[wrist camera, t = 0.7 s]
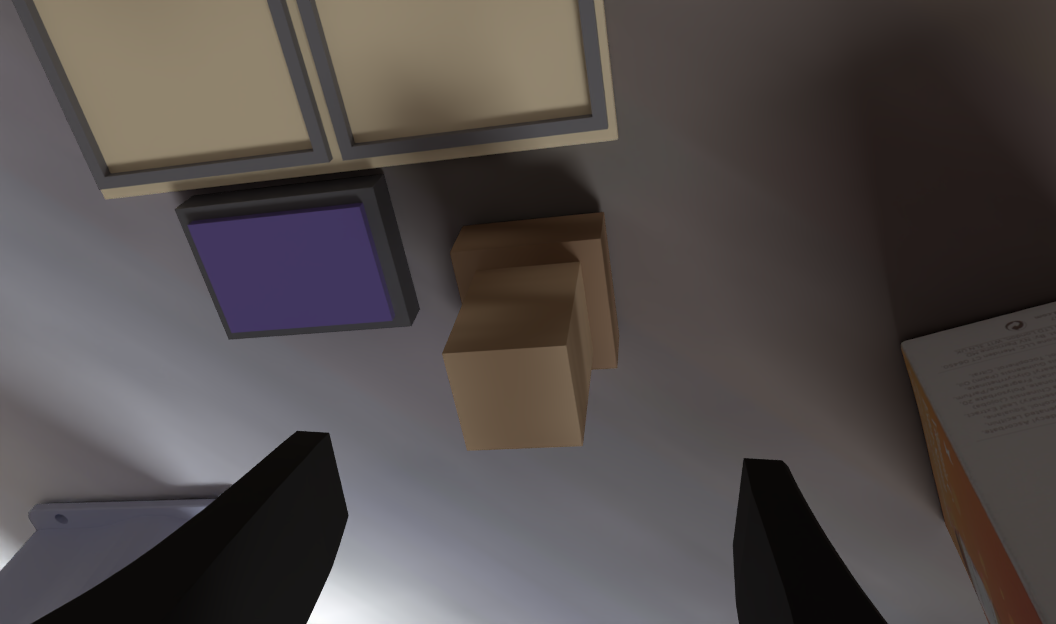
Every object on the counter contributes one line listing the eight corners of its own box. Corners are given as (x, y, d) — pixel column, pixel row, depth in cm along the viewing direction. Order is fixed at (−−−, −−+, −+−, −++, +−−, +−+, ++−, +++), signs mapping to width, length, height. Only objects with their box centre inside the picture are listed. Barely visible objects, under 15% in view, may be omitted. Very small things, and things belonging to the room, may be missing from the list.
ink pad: (242, 322, 25) (224, 344, 24) (192, 195, 23) (169, 213, 22) (419, 309, 24) (408, 331, 23) (383, 174, 22) (369, 191, 21)
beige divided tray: (111, 195, 23) (99, 203, 23) (-25, -103, 19) (-43, -102, 19) (618, 135, 20) (617, 143, 20) (578, -232, 16) (575, -234, 16)
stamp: (490, 339, 24) (448, 470, 19) (465, 221, 22) (410, 332, 17) (619, 330, 23) (611, 464, 18) (604, 207, 21) (590, 320, 16)
